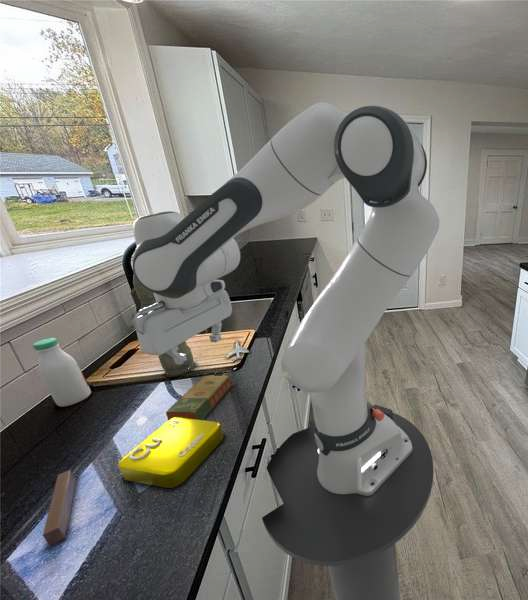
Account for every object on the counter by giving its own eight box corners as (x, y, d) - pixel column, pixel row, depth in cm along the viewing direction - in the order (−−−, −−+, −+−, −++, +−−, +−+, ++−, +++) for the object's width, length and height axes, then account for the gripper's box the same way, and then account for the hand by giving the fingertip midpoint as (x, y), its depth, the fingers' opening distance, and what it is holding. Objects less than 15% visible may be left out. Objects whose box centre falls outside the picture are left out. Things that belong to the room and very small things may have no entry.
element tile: (177, 490, 65) (169, 473, 63) (119, 480, 68) (111, 463, 66) (227, 435, 78) (222, 420, 77) (178, 428, 81) (172, 414, 80)
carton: (232, 386, 97) (229, 375, 96) (199, 424, 82) (194, 411, 81) (206, 386, 98) (203, 375, 96) (169, 424, 83) (164, 411, 81)
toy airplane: (247, 338, 127) (246, 333, 126) (250, 363, 109) (249, 357, 108) (226, 344, 124) (225, 338, 123) (226, 370, 106) (224, 364, 105)
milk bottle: (92, 398, 95) (63, 340, 88) (56, 411, 90) (22, 351, 83) (91, 387, 101) (63, 332, 93) (57, 399, 96) (25, 342, 88)
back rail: (76, 479, 69) (70, 469, 67) (65, 538, 57) (58, 527, 56) (64, 484, 67) (57, 474, 66) (50, 546, 56) (42, 535, 55)
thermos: (167, 364, 111) (131, 270, 98) (203, 359, 113) (173, 266, 100) (154, 379, 103) (113, 278, 90) (193, 373, 105) (158, 274, 92)
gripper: (143, 314, 55) (169, 380, 60) (229, 278, 73) (243, 331, 78) (116, 312, 56) (143, 376, 61) (207, 277, 75) (222, 329, 80)
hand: (200, 351), depth 70 cm, fingers open, 8 cm apart
